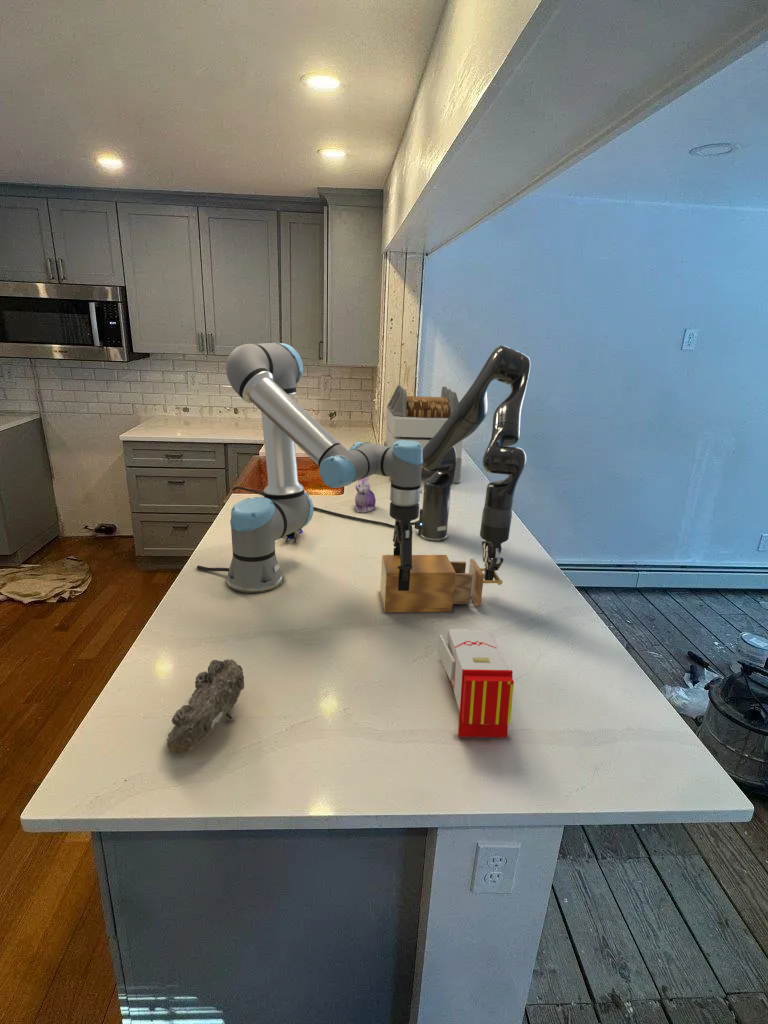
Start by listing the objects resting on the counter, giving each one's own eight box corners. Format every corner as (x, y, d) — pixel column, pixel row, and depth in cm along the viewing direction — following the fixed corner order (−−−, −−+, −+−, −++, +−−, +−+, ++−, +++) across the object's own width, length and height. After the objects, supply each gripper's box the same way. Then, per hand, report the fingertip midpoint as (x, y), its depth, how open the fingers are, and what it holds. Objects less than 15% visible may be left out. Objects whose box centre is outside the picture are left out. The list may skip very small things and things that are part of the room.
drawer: (490, 589, 161) (493, 558, 158) (500, 606, 152) (504, 574, 148) (413, 589, 158) (415, 559, 155) (418, 607, 149) (421, 575, 146)
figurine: (359, 514, 216) (360, 476, 211) (348, 506, 225) (349, 469, 220) (381, 511, 220) (382, 474, 215) (369, 503, 229) (371, 467, 224)
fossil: (192, 660, 117) (244, 628, 112) (224, 691, 120) (276, 661, 115) (142, 746, 98) (202, 712, 93) (182, 779, 101) (242, 748, 96)
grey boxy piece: (382, 463, 289) (386, 382, 275) (445, 464, 293) (451, 384, 279) (390, 482, 257) (394, 392, 243) (460, 483, 261) (468, 394, 247)
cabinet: (443, 591, 160) (446, 554, 156) (451, 611, 150) (455, 572, 146) (380, 592, 158) (382, 554, 154) (384, 612, 148) (386, 573, 144)
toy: (488, 613, 130) (523, 677, 101) (484, 667, 133) (517, 744, 104) (435, 612, 130) (455, 676, 101) (432, 666, 133) (451, 743, 103)
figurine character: (300, 549, 187) (305, 527, 200) (299, 528, 183) (305, 508, 197) (279, 548, 187) (286, 527, 200) (279, 528, 183) (285, 507, 197)
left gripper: (427, 518, 133) (421, 601, 141) (412, 488, 155) (408, 560, 163) (395, 518, 132) (391, 601, 140) (385, 488, 154) (382, 561, 162)
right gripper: (518, 531, 143) (508, 592, 148) (502, 513, 155) (494, 570, 161) (488, 530, 142) (480, 592, 148) (476, 512, 154) (469, 570, 160)
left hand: (400, 579), depth 151 cm, fingers closed on cabinet, 11 cm apart
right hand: (488, 580), depth 154 cm, fingers closed
